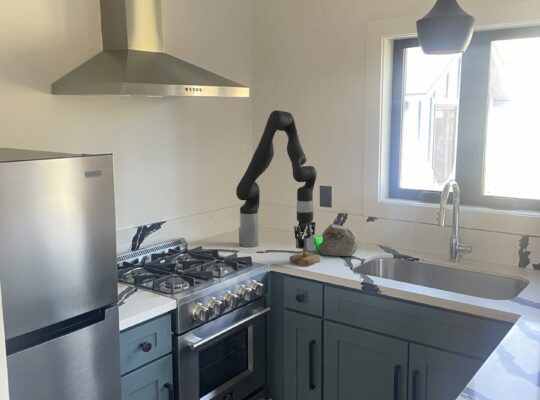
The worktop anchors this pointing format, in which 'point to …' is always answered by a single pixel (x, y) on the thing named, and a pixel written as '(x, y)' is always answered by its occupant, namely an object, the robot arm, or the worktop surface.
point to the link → (306, 242)
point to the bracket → (318, 242)
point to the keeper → (304, 258)
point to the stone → (338, 241)
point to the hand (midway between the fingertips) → (305, 246)
